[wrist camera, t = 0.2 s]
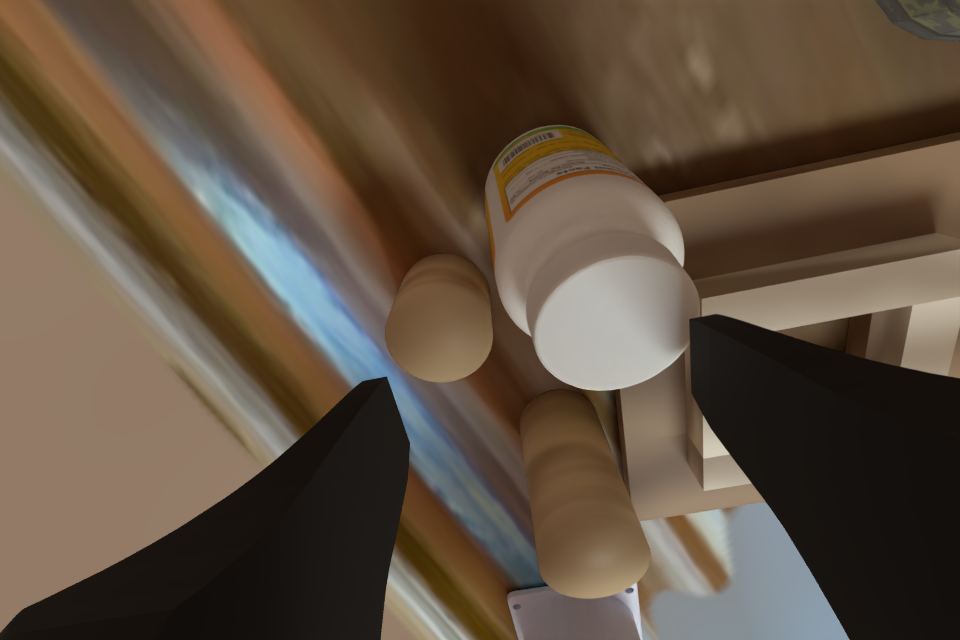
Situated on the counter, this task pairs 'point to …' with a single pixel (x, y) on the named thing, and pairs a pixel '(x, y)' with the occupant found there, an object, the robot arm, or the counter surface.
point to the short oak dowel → (441, 319)
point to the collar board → (771, 238)
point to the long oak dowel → (579, 500)
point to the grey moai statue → (925, 17)
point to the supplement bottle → (587, 260)
